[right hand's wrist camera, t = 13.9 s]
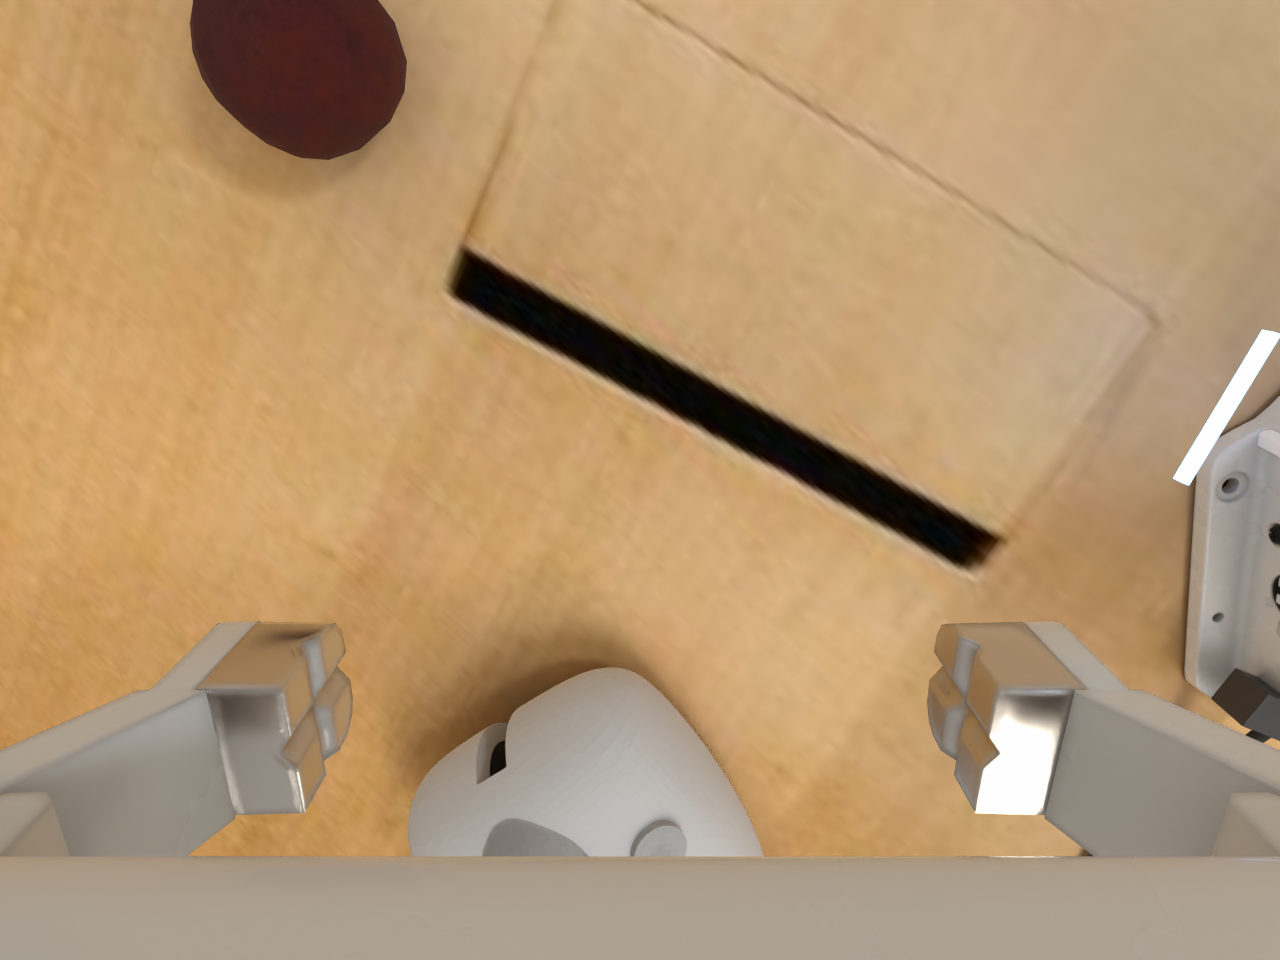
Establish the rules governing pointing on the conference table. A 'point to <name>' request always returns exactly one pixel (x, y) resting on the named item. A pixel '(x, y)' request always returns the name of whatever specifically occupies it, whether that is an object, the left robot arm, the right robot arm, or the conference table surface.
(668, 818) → the white molded housing
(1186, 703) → the conference table surface
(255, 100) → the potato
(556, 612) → the conference table surface
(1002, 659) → the right robot arm
